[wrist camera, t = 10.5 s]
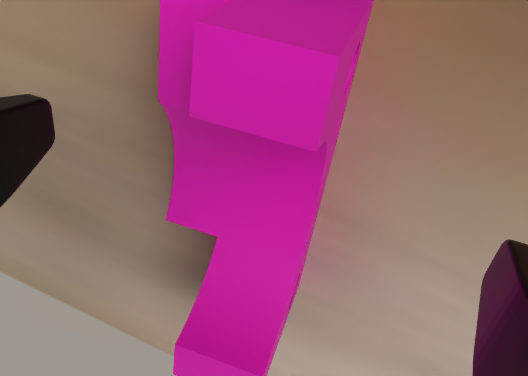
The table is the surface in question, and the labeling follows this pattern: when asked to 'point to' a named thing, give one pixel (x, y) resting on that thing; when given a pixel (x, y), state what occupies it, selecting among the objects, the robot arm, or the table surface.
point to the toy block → (252, 157)
